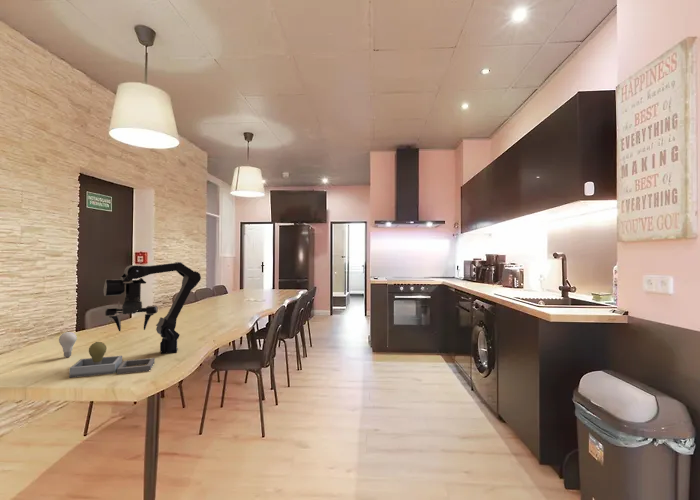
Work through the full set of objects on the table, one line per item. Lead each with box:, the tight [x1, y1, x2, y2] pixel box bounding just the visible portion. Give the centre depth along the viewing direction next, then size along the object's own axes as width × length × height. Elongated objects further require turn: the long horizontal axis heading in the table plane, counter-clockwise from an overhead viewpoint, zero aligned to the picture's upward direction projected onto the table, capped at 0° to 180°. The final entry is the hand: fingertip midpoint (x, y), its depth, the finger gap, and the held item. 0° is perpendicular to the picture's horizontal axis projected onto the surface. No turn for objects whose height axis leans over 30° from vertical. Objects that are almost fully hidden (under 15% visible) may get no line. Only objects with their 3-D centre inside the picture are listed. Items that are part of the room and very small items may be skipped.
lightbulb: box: [58, 331, 78, 358], centre depth 152 cm, size 6×6×11 cm
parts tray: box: [68, 355, 123, 379], centre depth 135 cm, size 14×12×4 cm
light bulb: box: [88, 341, 107, 365], centre depth 135 cm, size 6×6×10 cm
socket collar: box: [116, 357, 156, 375], centre depth 139 cm, size 11×11×2 cm
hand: (132, 330), depth 152 cm, fingers open, 9 cm apart
